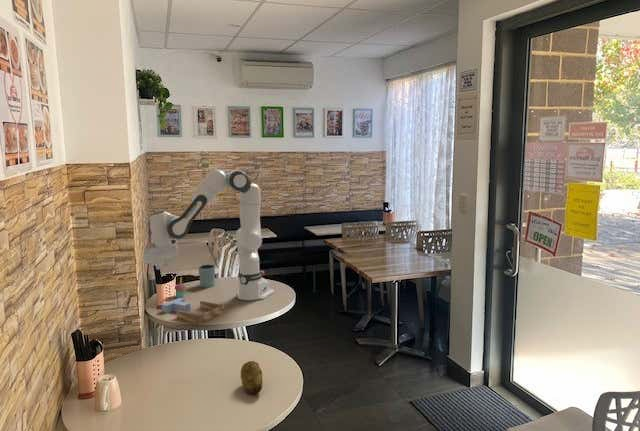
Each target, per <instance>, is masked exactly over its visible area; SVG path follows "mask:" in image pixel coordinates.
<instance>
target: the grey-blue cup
mask: <svg viewBox="0 0 640 431" xmlns="http://www.w3.org/2000/svg"><path fill="white" fill-rule="evenodd" d="M197 270H198V275H199V284H200V285H199V286H200V287H201V288H212V287H214V286H216V285H215V283H216V280H215V279H216V276H215V275H216V265H214V264H201V265H199V266H198V268H197Z"/></svg>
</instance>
